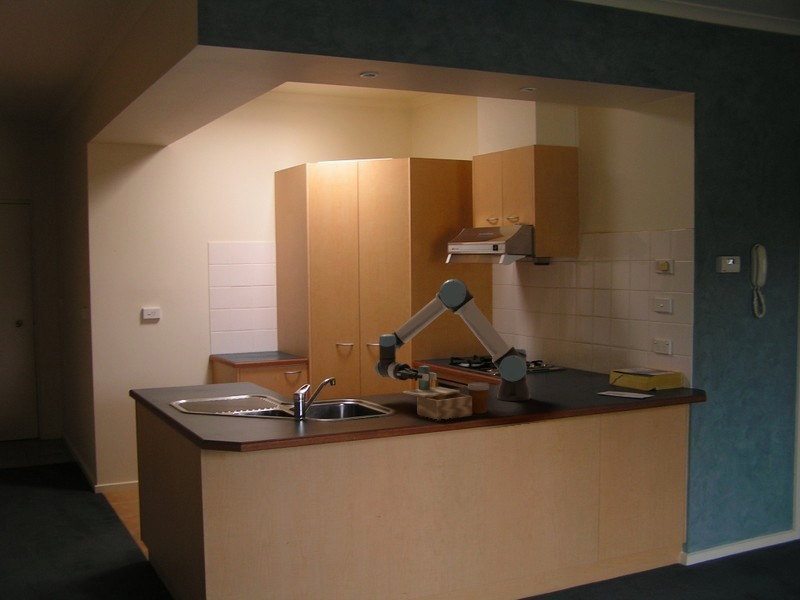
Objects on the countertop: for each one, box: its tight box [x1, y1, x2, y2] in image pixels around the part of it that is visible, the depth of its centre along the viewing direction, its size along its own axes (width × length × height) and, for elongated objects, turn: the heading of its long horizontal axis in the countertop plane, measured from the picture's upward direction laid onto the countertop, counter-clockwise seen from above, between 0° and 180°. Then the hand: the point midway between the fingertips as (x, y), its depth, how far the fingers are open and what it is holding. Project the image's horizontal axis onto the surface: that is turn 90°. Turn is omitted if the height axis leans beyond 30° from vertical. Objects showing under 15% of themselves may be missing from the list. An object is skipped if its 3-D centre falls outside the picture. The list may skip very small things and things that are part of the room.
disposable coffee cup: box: [467, 381, 491, 414], centre depth 359 cm, size 10×10×12 cm
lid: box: [402, 365, 461, 397], centre depth 359 cm, size 19×15×11 cm
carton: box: [416, 393, 473, 421], centre depth 353 cm, size 18×14×8 cm
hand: (431, 377), depth 359 cm, fingers closed on lid, 3 cm apart
